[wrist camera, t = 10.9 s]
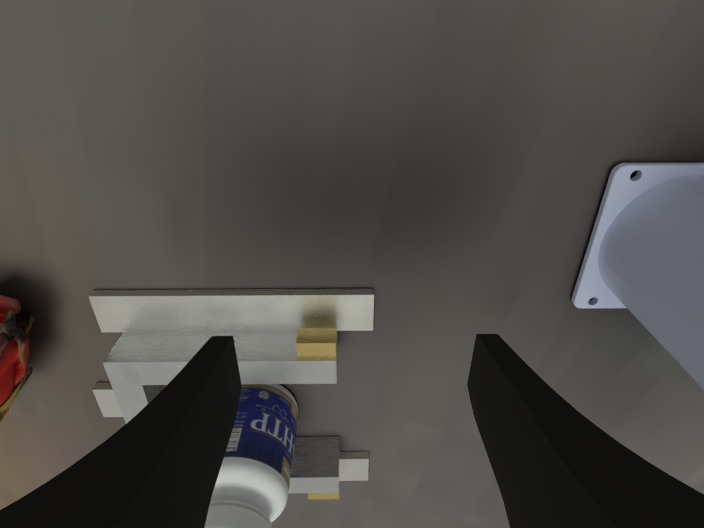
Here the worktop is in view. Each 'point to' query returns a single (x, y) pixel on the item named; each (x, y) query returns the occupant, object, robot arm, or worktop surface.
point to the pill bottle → (256, 460)
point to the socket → (251, 350)
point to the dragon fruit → (13, 351)
